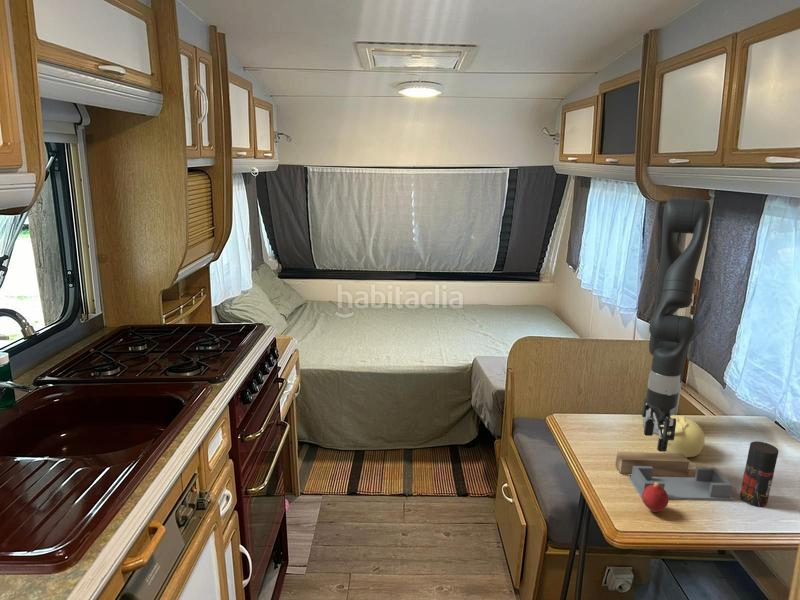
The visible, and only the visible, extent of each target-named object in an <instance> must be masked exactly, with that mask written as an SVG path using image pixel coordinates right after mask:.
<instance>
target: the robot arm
mask: <svg viewBox="0 0 800 600" xmlns="http://www.w3.org/2000/svg"><path fill="white" fill-rule="evenodd" d="M710 217H711V204H710V202H709V201H708V200H707V199H703V198H702V199H701V198H682V197H681V198H679V197H678V198H676V197H675V198H674V197H673V198H669V199H668V200H667V201H666V203H665V205H664V209H663V216H662V229H661V230H662V234H661V251H660V252H661V253H660V261H659V266H658V271H657V279H656V292H655V301H654V302H655V304H654V313H653V317H652V318H651V320H650V323H649V328H648V331H649V334H650V335H649V342H648V350H649V353H650V355H652V360H651V367H650V372H649V376H648V380H647V387H646V395H645V398H644V400H643V406H642V412H641V416H642V427H643V428H644V429H643V435H645V436H646V437H647V436H650V437H651V436H653V434H655V435H656V434H657V435H658V439H657V440H658V441H657V448H656V450H657V451H658V452H659V453H665V452H667V451H666V450H667V445H668V440H674V436H675V428H676V419H675V418H671V417H670V416H672V415H677V416H678V410H679V404H680V403H679V402H680V396H681V392H682V391H681V390H682V385H683V378H684V370H685V364H686V361H687V355H688V352H689V351H688V350H689V346H690V343H691V342H692V340H693V338H694V336H695V334H696V331H697V326H696V322H695V320H694V319H693V318H692V317H690V316H686V315H679V314H675V313H676V312H677V311H678V310H680V309H686V308H689V307H690V305H691V304H692V299H693V291H694V287H695V286H694V285H695V278H696V274H697V269H698V265H699V262H700V259H701V255H702V252H703V248H704V245H705V240H706V236H707V233H708V228H709V224H710ZM676 233H678V234H691V235H692V238H691V240H690V242H689V243H688V245H687V247H686V248H685V249H684V250H683V252H682V251H681V249H680V247H679V244H678V241H677V237H676ZM661 425H664V426H661ZM662 430H663V433H662ZM670 432H671V434H670Z"/></svg>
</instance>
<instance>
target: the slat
mask: <svg viewBox="0 0 800 600" xmlns="http://www.w3.org/2000/svg"><path fill="white" fill-rule="evenodd" d="M615 457H616V458H615V464H614V465H615V469H616V470H617V472H618V471H619V472H618V473H620V474H625V475H624V476H629V475H628V474H632V468H633V466H652V468H653V472H652V475H654V476H653V477H672V476H678V477H686V478H688V473H689V467H690V460H689V459H688V457H685V456H684V454H676V453H669V452H666V453H665V452H645V451H643V452H640V451H617V452H616V456H615ZM620 474H619V475H620Z"/></svg>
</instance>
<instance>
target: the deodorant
mask: <svg viewBox="0 0 800 600" xmlns="http://www.w3.org/2000/svg"><path fill="white" fill-rule="evenodd" d="M778 456H779V448H777V446H775V445H773V444H770V443H767V442H764V441H757V440H755V441H751V442H750V444H749V449H748V453H747V458H746V463H745V468H744V473H743V478H742V483H741V487H740V492H739V498H740V500H741V501H743V502H744V503H745V504H747V505H749V506H751V507H752V506H753V507H755V508H764V507H767V506H768V501H769V496H770V492H771V487H772V484H773V480H774V473H775V471H776V470H775V469H776V464H777V460H778Z"/></svg>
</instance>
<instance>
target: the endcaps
mask: <svg viewBox="0 0 800 600" xmlns="http://www.w3.org/2000/svg"><path fill="white" fill-rule="evenodd" d="M652 472H653V468H652V466H633V468H632V475H628V476H627V477H628V478H629V479H628V480H629V481H630V483H631V484H632V486H633V487H634V489H635V491H636V492H637V493H638V495H639V496H640V498H641V499H642V493H643V491H644V489H645V488H646V487H647V486H649V485H653V484H654V482H657V483H658V484H659V485H660V486H661V487H662V488H663V489H664V490H665V491H666V493H667V495H668V500H688V501H689V500H690V501H692V500H693V501H697V500H698V501H729V502H731V501H732V502H733V501H734V498H733V497H732V495H731V494H732V489H733V484H732V483H731V482H730V481H729V480H728V479H727V478H726V477H725V475H724V474H722V472H720V471H719V470H718V468H716V467H706V466H705V467H702V466H701V467H698V466H697V467H696V468H695V473H694V474H695V475H694V477H672V476H652Z"/></svg>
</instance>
